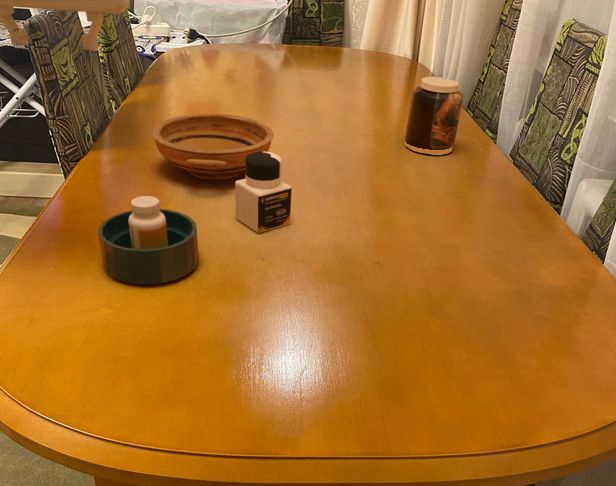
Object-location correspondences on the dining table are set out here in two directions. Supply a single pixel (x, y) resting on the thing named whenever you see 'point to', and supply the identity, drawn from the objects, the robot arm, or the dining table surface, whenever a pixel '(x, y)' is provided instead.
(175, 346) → the dining table surface
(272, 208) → the medicine bottle
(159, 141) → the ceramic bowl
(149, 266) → the teal bowl
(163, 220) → the supplement bottle
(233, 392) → the dining table surface
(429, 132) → the jar
